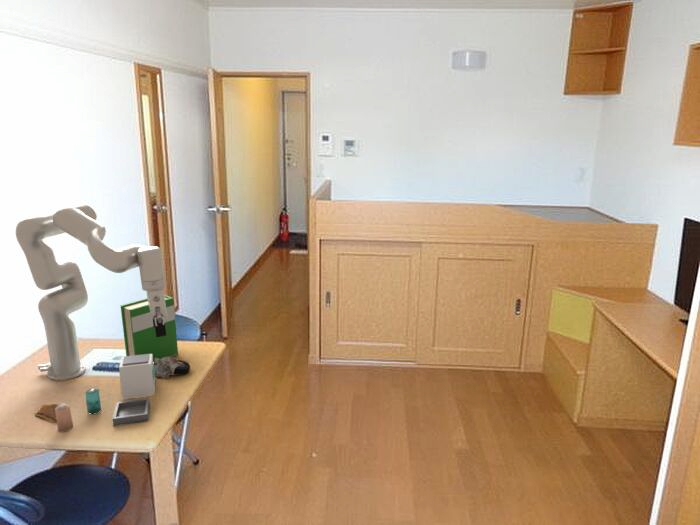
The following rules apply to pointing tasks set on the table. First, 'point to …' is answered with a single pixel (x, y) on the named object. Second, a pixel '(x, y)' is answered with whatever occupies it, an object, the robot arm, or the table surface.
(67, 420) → the terracotta cartridge
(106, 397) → the table surface
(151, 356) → the unit
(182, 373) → the caster wheel
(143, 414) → the tray
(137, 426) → the table surface
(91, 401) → the cylinder
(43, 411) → the shard
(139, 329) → the hardback book
